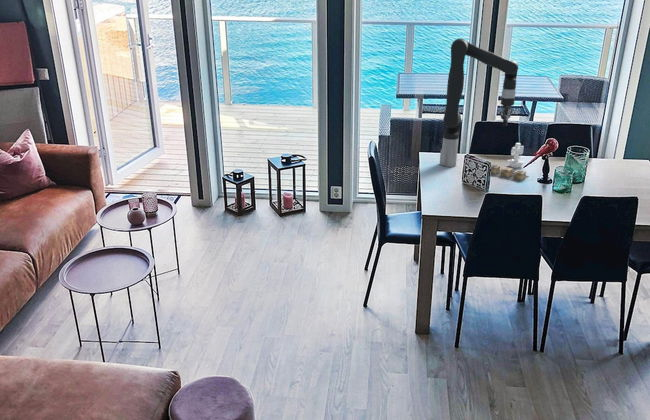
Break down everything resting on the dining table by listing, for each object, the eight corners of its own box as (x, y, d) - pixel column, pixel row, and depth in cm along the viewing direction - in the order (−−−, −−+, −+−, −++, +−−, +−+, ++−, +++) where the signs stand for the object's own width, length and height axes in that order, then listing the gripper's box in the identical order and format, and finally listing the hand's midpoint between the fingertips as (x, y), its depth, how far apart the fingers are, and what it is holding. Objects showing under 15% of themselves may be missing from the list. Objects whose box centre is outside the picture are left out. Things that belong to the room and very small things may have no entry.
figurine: (515, 163, 379) (518, 140, 373) (524, 168, 371) (528, 144, 365) (505, 165, 377) (508, 141, 371) (514, 169, 369) (517, 145, 363)
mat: (483, 174, 360) (483, 174, 360) (494, 168, 370) (494, 168, 370) (519, 183, 347) (519, 182, 347) (529, 176, 357) (529, 176, 357)
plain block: (500, 175, 358) (501, 168, 357) (504, 173, 362) (504, 166, 360) (508, 177, 355) (509, 170, 354) (512, 175, 359) (513, 168, 357)
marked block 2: (513, 178, 354) (514, 171, 352) (517, 176, 357) (517, 169, 355) (521, 180, 351) (522, 173, 349) (525, 178, 354) (526, 170, 352)
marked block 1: (487, 172, 363) (488, 165, 361) (491, 170, 367) (492, 163, 365) (495, 174, 360) (496, 167, 358) (499, 172, 364) (500, 165, 362)
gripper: (507, 93, 359) (503, 122, 366) (497, 97, 350) (493, 127, 356) (519, 95, 354) (515, 124, 361) (509, 99, 345) (505, 129, 352)
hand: (504, 125), depth 359 cm, fingers closed
